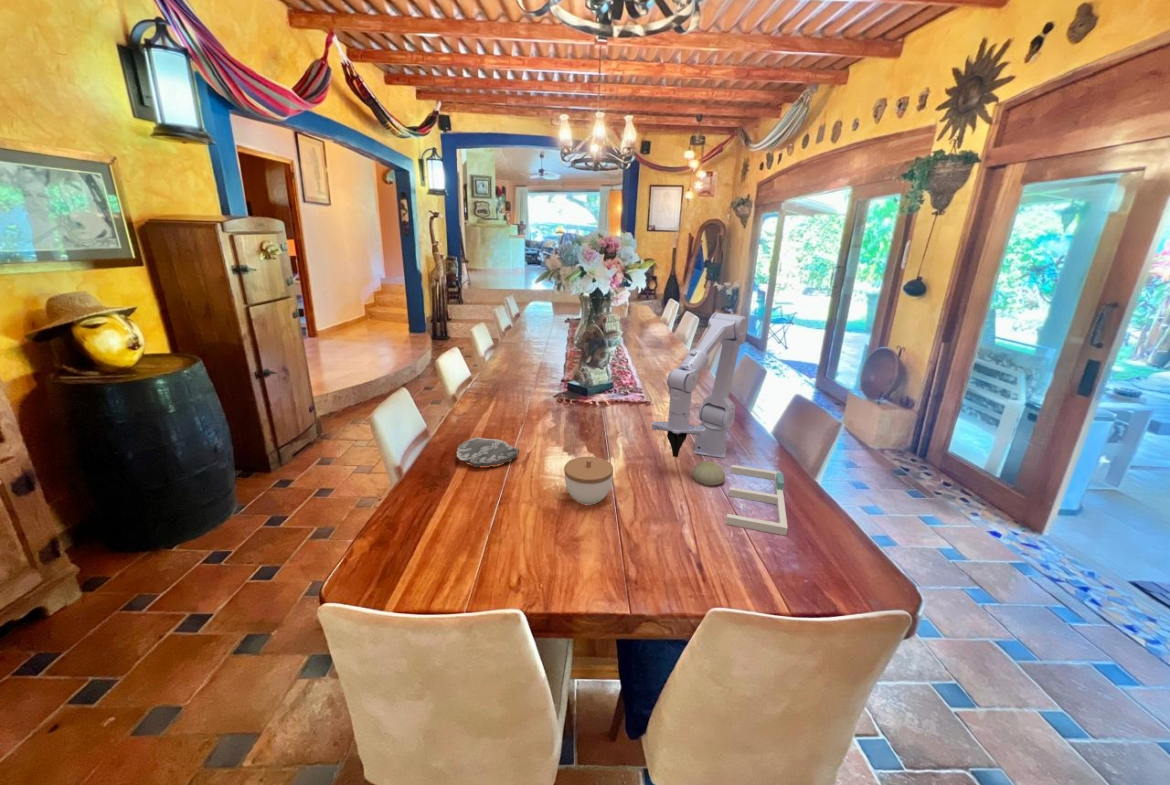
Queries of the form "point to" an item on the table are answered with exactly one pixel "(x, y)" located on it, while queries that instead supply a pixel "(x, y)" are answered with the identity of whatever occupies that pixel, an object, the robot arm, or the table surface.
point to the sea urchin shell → (708, 473)
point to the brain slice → (486, 452)
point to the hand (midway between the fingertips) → (675, 455)
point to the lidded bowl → (588, 479)
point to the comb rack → (762, 497)
